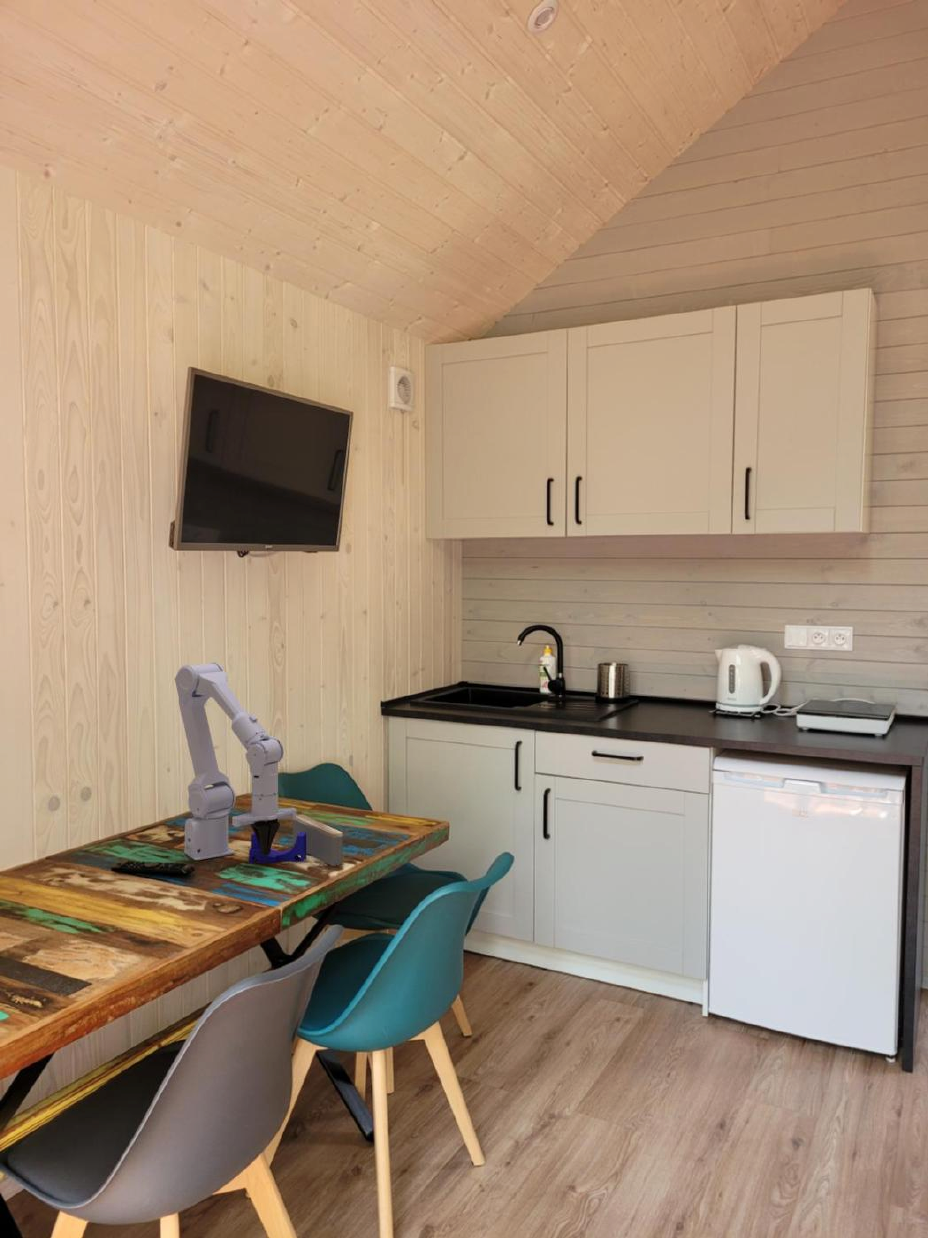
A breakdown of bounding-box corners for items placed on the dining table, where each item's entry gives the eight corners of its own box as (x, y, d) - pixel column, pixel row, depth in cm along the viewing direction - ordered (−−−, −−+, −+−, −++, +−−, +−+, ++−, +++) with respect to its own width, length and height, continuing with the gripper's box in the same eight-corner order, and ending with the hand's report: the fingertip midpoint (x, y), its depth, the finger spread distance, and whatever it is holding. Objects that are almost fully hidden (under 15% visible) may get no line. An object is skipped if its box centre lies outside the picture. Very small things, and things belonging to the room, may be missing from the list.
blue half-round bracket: (249, 863, 211) (249, 836, 211) (254, 857, 215) (254, 831, 215) (301, 864, 210) (301, 838, 210) (306, 858, 215) (306, 832, 214)
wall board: (332, 866, 208) (332, 834, 208) (292, 845, 224) (292, 815, 224) (342, 864, 209) (342, 832, 209) (302, 844, 226) (302, 814, 225)
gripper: (241, 801, 201) (241, 863, 202) (302, 792, 210) (302, 852, 210) (228, 795, 207) (228, 856, 207) (288, 786, 215) (288, 845, 216)
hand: (265, 853), depth 209 cm, fingers closed
